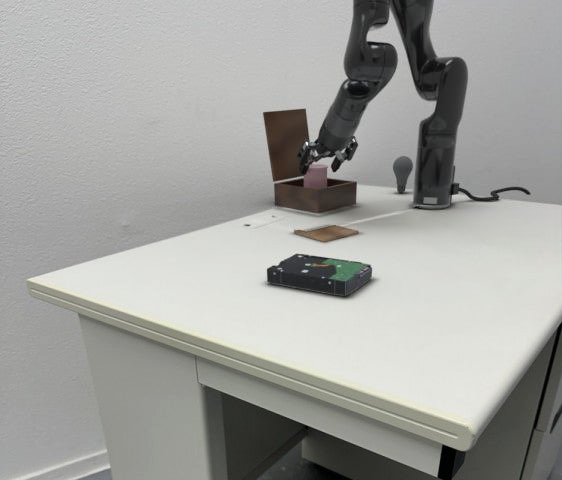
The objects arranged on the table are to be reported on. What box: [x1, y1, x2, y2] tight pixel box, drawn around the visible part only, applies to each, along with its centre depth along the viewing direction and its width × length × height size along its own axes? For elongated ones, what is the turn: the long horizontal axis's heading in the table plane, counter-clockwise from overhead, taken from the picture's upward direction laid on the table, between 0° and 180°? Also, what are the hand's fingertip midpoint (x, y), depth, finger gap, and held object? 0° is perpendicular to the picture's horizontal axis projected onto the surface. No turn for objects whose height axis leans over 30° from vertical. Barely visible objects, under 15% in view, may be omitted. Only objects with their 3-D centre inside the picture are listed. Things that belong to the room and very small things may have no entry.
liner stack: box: [303, 163, 329, 189], centre depth 141 cm, size 6×6×10 cm
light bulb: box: [392, 155, 414, 194], centre depth 154 cm, size 6×6×10 cm
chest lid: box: [262, 108, 313, 183], centre depth 142 cm, size 16×15×1 cm
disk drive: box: [266, 253, 373, 297], centre depth 91 cm, size 10×3×15 cm
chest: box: [273, 177, 358, 214], centre depth 142 cm, size 16×15×6 cm
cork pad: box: [293, 224, 359, 243], centre depth 119 cm, size 10×10×1 cm
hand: (317, 170), depth 137 cm, fingers open, 8 cm apart
